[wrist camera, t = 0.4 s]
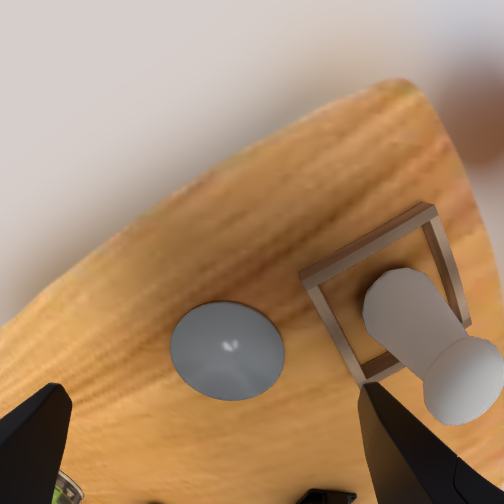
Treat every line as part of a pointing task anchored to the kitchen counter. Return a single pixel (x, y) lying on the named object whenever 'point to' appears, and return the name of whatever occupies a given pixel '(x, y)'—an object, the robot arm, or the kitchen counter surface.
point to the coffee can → (66, 491)
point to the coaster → (227, 351)
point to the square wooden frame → (363, 249)
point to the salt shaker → (433, 345)
